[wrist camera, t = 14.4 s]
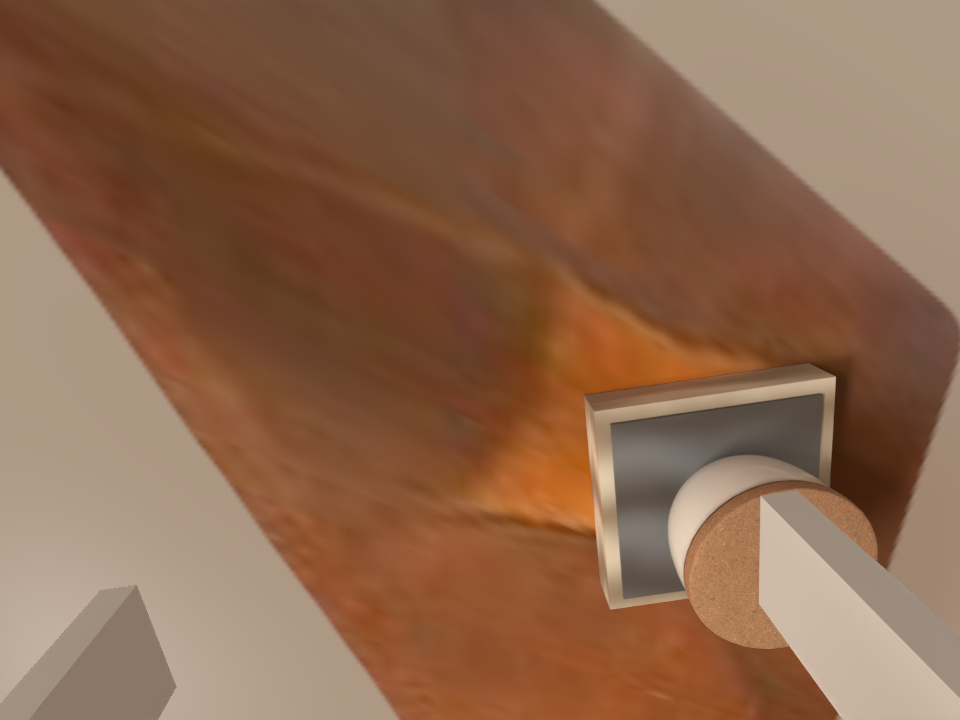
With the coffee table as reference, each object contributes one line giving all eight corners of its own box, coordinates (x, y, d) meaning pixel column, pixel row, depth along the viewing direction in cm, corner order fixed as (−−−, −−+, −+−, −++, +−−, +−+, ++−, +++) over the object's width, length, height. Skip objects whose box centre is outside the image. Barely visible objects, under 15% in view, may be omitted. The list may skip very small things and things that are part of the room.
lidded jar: (826, 453, 38) (941, 536, 29) (755, 580, 41) (839, 691, 32) (684, 409, 36) (758, 481, 27) (621, 544, 39) (669, 649, 30)
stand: (583, 395, 39) (594, 413, 36) (808, 362, 39) (839, 378, 36) (600, 581, 44) (611, 612, 41) (800, 553, 44) (827, 581, 41)
